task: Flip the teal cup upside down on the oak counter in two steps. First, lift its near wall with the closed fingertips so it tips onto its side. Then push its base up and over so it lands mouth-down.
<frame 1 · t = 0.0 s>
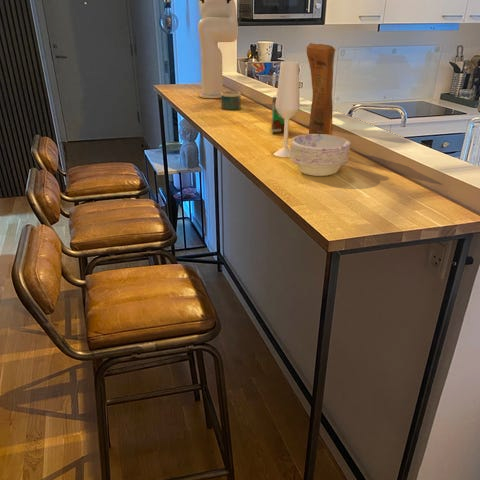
hand: (215, 3, 193), 37 cm above the counter, tool pointing down, fingers open, 9 cm apart
teal cup: (230, 108, 208), on the counter
pancake mix bag: (317, 149, 152), on the counter
paper bowls: (317, 172, 132), on the counter
food container: (280, 131, 172), on the counter
champagne flute: (284, 154, 146), on the counter
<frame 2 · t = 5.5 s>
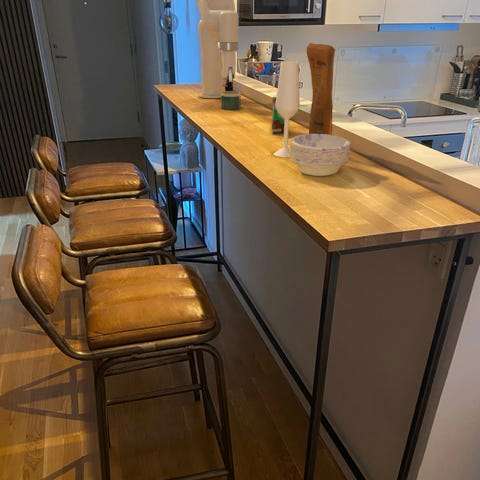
hand: (229, 96, 211), 4 cm above the counter, tool pointing down, fingers closed
teal cup: (230, 108, 208), on the counter, touching gripper
everything else where it was.
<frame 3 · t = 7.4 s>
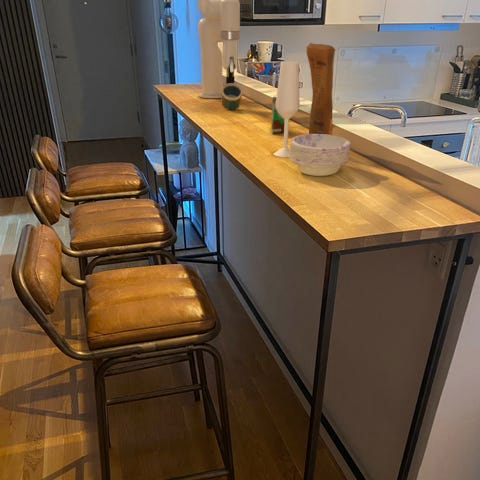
hand: (230, 87, 205), 8 cm above the counter, tool pointing down, fingers closed
teal cup: (230, 102, 206), point 2 cm above the counter, tilted 37°, touching gripper
everything else where it was.
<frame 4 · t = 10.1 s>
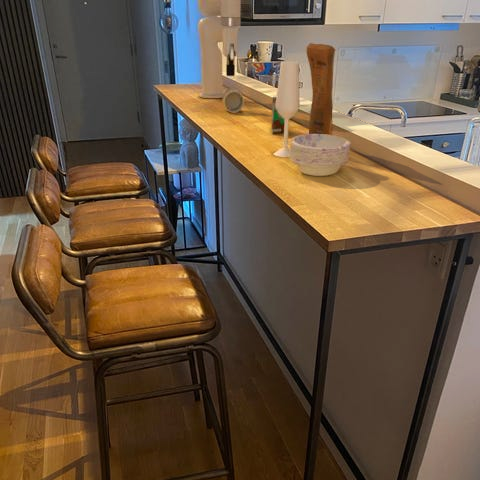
hand: (230, 75, 201), 12 cm above the counter, tool pointing down, fingers closed
teal cup: (232, 99, 202), point 4 cm above the counter, tilted 90°
everything else where it was.
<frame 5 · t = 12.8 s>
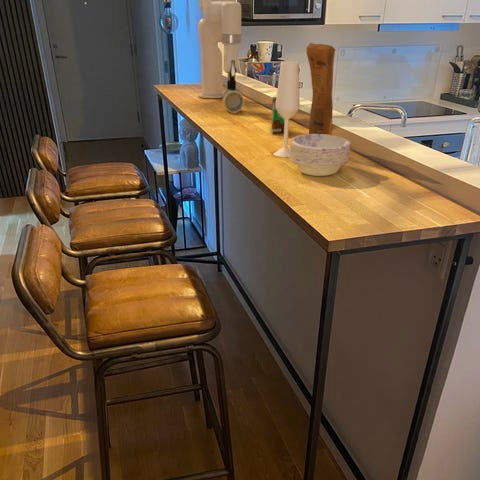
hand: (231, 91, 202), 7 cm above the counter, tool pointing down, fingers closed
teal cup: (232, 99, 202), point 4 cm above the counter, tilted 92°, touching gripper
everything else where it was.
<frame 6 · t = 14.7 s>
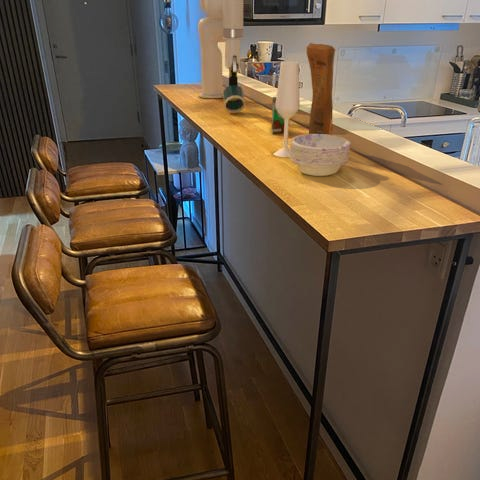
hand: (233, 88, 196), 9 cm above the counter, tool pointing down, fingers closed
teal cup: (233, 93, 198), point 7 cm above the counter, tilted 127°
everything else where it was.
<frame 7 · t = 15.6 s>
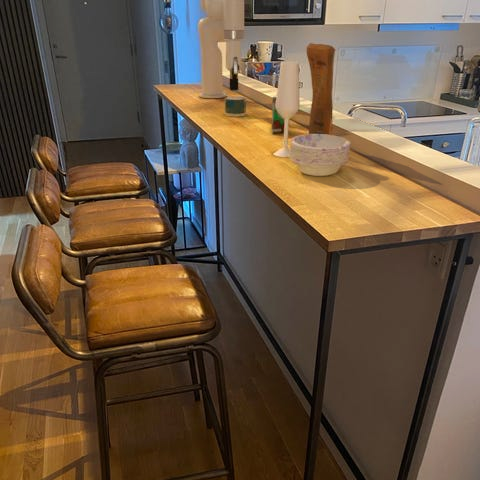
hand: (233, 89, 194), 8 cm above the counter, tool pointing down, fingers closed
teal cup: (235, 98, 193), point 6 cm above the counter, tilted 180°
everything else where it was.
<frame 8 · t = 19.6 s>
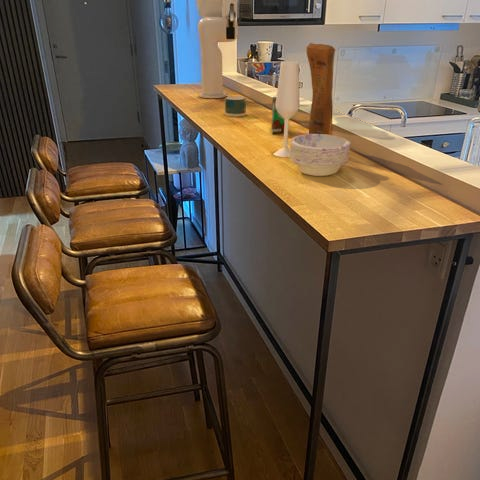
hand: (230, 39, 194), 25 cm above the counter, tool pointing down, fingers closed
nothing on the counter moved.
at the end: teal cup tilted 180°; teal cup inside the target area (0.5 cm from its centre), point 6.0 cm above the counter; teal cup touching counter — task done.
